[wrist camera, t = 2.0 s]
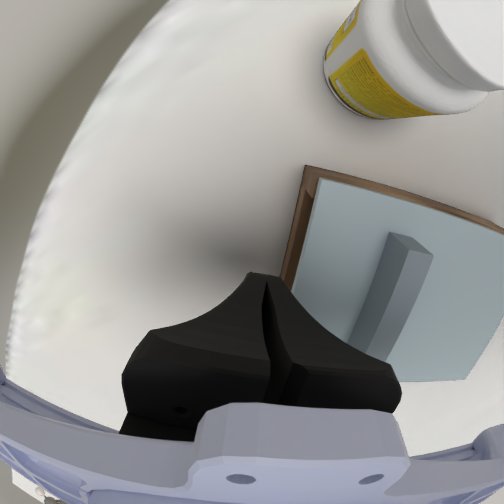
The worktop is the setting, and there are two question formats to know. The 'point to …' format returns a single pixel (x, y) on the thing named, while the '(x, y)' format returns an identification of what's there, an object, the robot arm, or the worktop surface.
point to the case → (314, 173)
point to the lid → (401, 281)
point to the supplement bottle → (417, 57)
